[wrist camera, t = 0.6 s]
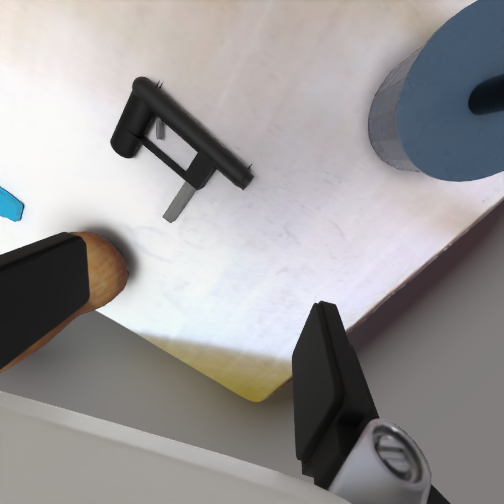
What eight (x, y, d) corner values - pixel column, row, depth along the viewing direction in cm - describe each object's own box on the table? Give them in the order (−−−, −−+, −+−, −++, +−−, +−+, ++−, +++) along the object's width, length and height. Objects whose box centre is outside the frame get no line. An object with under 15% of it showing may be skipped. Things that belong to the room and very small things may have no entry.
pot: (387, 43, 28) (435, -7, 19) (509, 52, 27) (616, 4, 18) (355, 164, 33) (381, 168, 25) (455, 175, 32) (518, 183, 24)
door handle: (196, 247, 39) (259, 171, 32) (92, 164, 36) (136, 59, 29) (203, 240, 42) (261, 168, 35) (107, 162, 39) (151, 66, 32)
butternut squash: (128, 220, 41) (-64, 305, 18) (148, 286, 46) (18, 416, 23) (60, 224, 43) (-188, 306, 20) (86, 287, 48) (-89, 408, 26)
